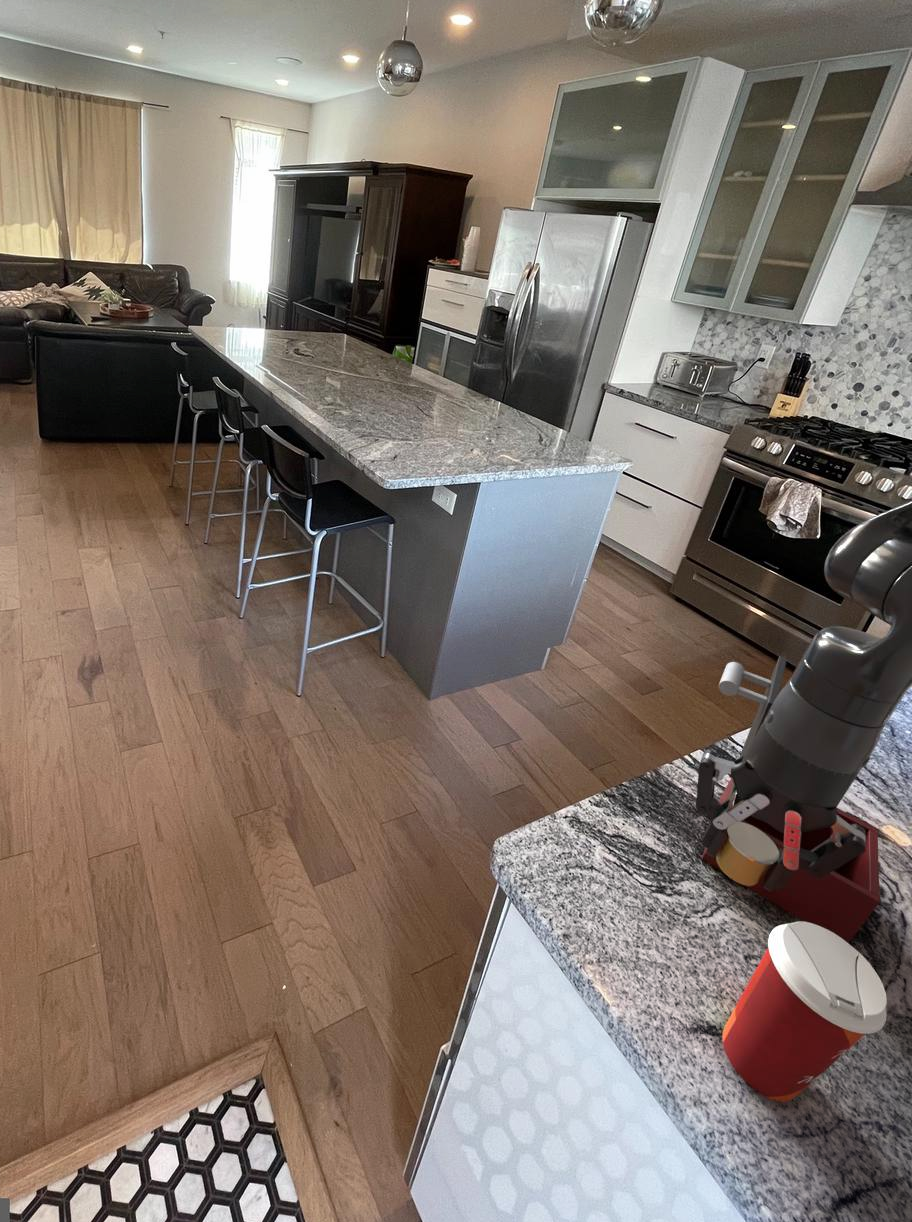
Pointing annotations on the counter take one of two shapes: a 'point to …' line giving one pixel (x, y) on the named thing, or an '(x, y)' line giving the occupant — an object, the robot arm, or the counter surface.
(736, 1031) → the paper cup
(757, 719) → the lid
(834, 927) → the box
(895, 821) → the counter surface
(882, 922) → the counter surface
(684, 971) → the counter surface
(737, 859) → the cylinder
